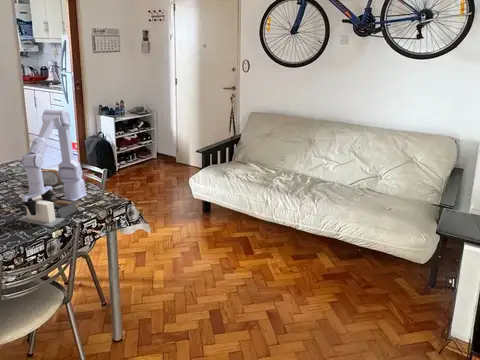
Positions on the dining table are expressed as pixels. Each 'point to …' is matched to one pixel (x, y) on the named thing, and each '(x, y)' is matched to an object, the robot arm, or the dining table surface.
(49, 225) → the mat
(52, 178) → the tin
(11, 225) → the dining table surface
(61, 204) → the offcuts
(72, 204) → the frame
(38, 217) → the white rectangular block
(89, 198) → the dining table surface
